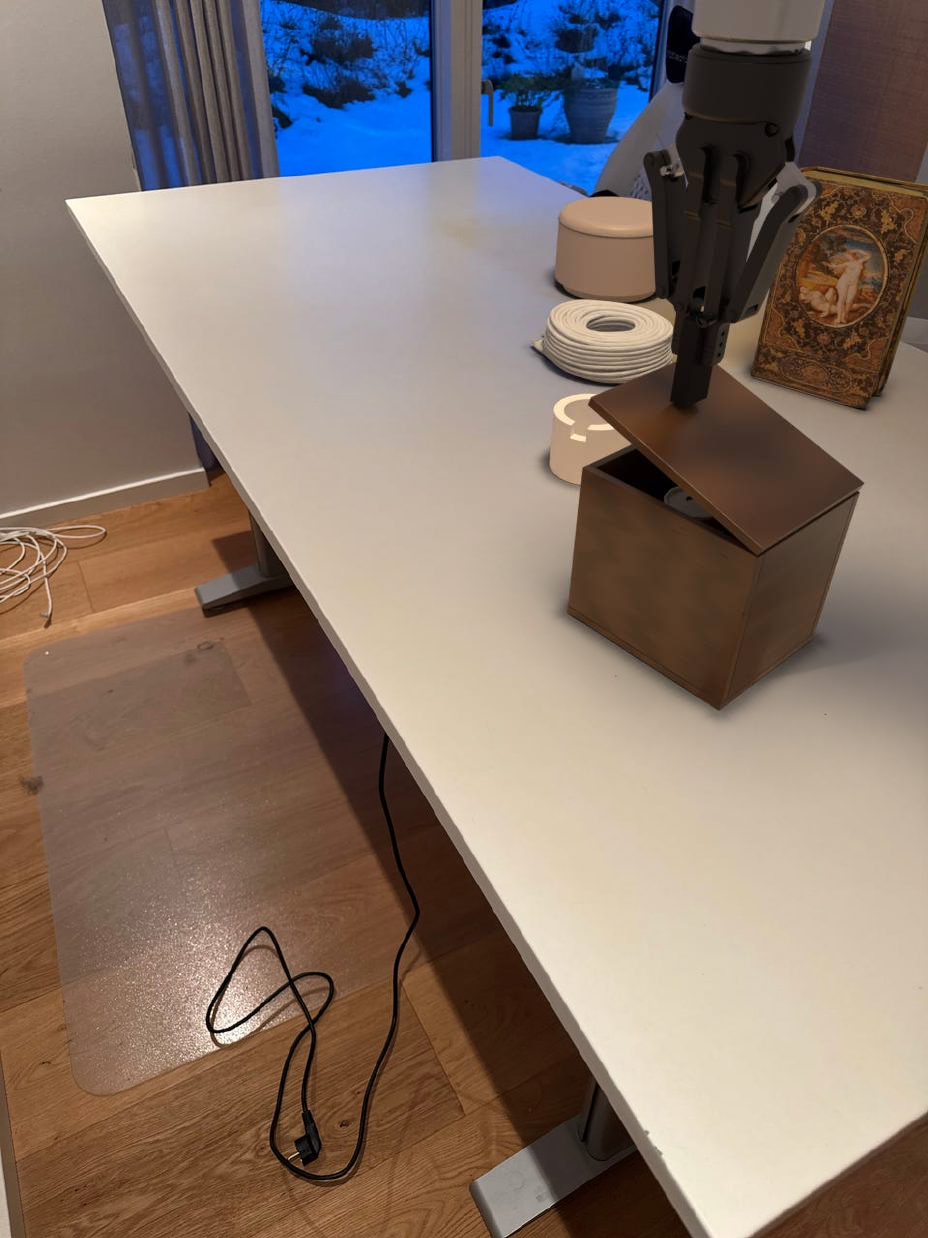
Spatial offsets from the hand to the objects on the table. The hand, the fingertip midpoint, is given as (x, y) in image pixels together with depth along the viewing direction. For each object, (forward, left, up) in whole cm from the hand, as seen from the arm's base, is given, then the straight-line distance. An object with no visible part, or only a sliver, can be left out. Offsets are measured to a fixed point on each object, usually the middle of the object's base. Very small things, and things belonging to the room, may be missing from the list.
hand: (688, 399), depth 71 cm
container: (+41, -74, -20) cm, 87 cm away
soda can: (-3, +2, -20) cm, 20 cm away
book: (+2, -55, -20) cm, 59 cm away
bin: (-4, +1, -20) cm, 21 cm away
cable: (+28, -47, -20) cm, 58 cm away
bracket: (+17, -25, -20) cm, 36 cm away
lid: (-4, +1, -3) cm, 5 cm away
